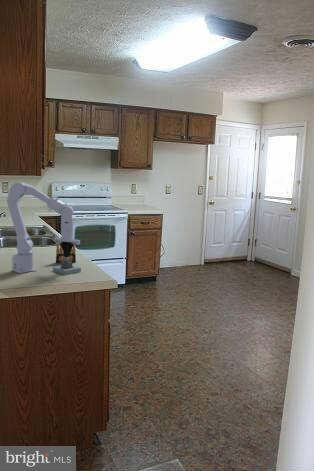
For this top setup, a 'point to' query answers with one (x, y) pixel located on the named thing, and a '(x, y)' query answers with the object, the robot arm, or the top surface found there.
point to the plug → (66, 263)
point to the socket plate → (67, 270)
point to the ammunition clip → (71, 257)
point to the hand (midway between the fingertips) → (66, 256)
